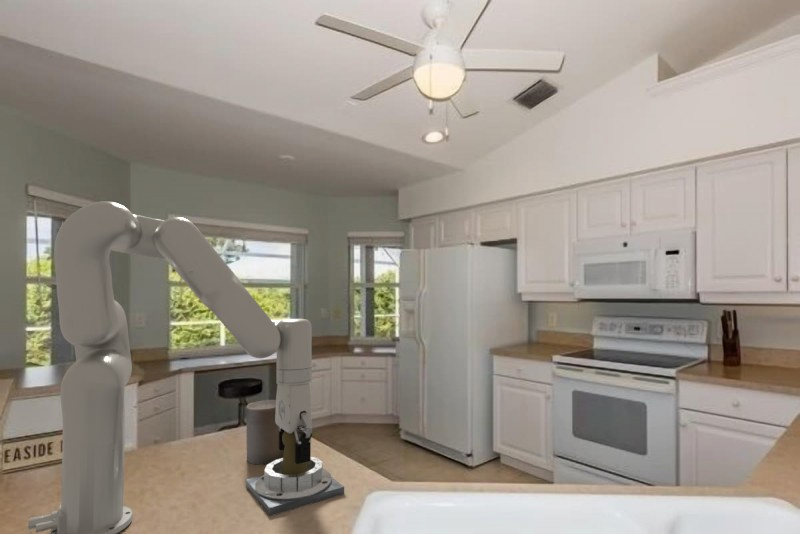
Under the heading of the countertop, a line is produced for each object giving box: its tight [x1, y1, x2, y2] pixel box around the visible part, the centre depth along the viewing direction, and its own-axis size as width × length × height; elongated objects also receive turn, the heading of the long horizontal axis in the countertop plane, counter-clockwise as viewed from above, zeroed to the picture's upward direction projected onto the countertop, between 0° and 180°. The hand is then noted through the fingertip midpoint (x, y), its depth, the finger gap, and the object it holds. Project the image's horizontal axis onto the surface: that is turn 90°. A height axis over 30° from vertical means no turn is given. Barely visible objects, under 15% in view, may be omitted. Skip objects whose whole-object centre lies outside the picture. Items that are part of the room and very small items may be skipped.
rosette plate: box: [245, 456, 345, 517], centre depth 98 cm, size 16×16×5 cm
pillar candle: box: [245, 398, 284, 465], centre depth 117 cm, size 10×10×15 cm
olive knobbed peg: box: [281, 428, 308, 475], centre depth 97 cm, size 6×6×11 cm
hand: (294, 455), depth 98 cm, fingers open, 9 cm apart
